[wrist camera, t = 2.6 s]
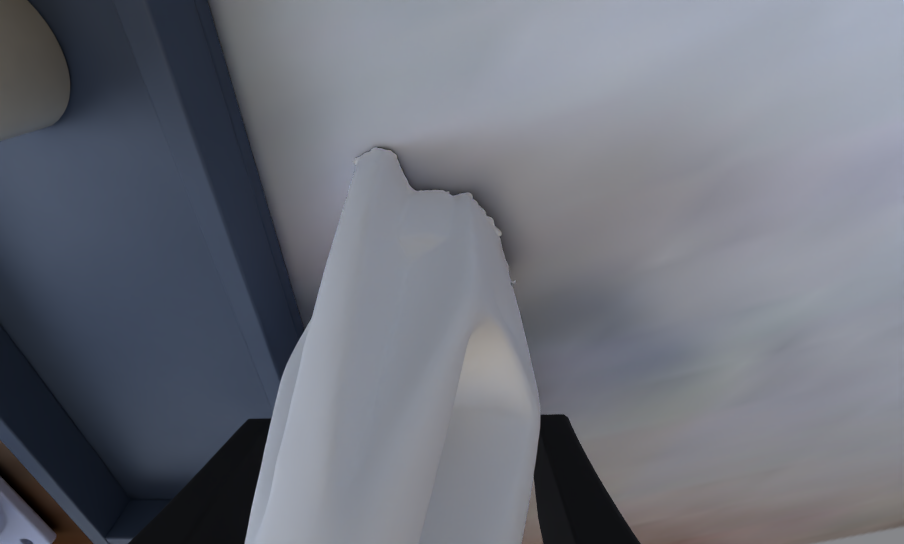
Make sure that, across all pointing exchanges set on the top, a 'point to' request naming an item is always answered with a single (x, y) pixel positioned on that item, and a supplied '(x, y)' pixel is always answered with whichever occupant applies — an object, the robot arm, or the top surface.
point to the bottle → (29, 72)
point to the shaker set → (404, 382)
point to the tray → (136, 268)
